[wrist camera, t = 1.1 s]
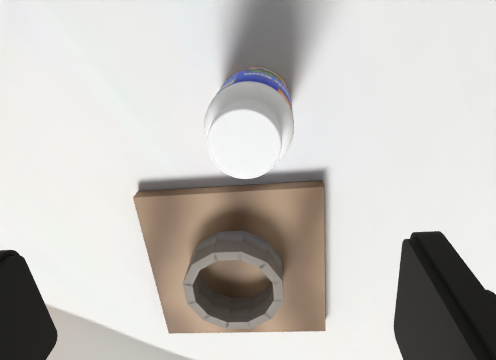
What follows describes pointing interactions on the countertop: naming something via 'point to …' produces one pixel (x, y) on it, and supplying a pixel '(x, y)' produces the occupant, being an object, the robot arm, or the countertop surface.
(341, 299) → the countertop surface
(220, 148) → the pill bottle
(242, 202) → the base
